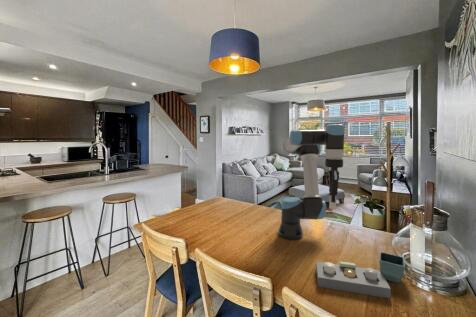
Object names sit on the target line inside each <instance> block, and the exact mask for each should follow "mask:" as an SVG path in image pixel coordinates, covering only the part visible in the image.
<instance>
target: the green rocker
mask: <svg viewBox="0 0 476 317" xmlns="http://www.w3.org/2000/svg"><path fill="white" fill-rule="evenodd" d="M339 265H340V267H345V268H352V269H355V268H356V267H357V265H356V263H354V262H348V261H347V262H346V261H339Z"/></svg>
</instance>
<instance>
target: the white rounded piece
mask: <svg viewBox="0 0 476 317" xmlns="http://www.w3.org/2000/svg"><path fill="white" fill-rule="evenodd" d="M334 264H335V263H332V262H329V261H328V262H324V273H326V274H333V275H335V265H334Z"/></svg>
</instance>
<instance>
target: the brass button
mask: <svg viewBox="0 0 476 317" xmlns="http://www.w3.org/2000/svg"><path fill="white" fill-rule="evenodd" d="M344 276H346V277H352V278H356V272H355V271H354V270H353V269H350V268H345V269H344Z"/></svg>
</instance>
